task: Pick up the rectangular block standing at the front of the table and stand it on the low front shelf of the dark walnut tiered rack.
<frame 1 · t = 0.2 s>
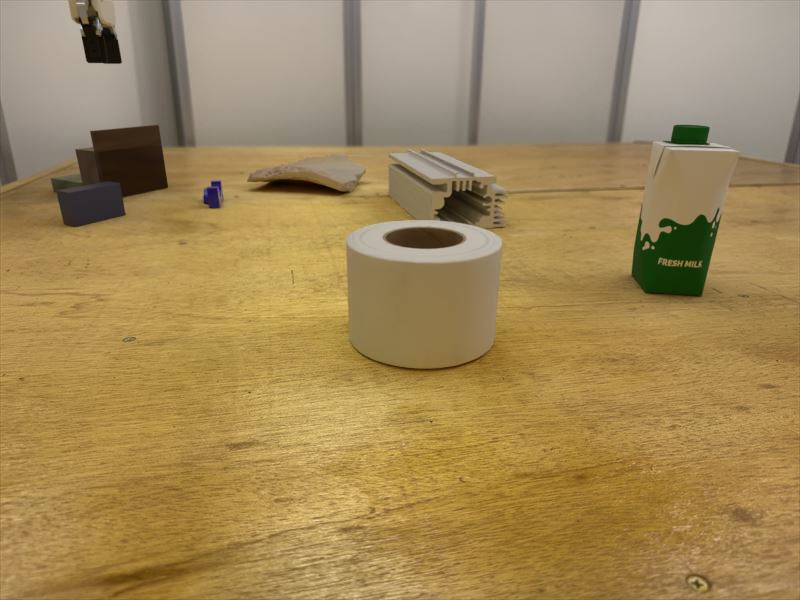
hand: (105, 63, 95), 26 cm above the table, tool pointing down, fingers open, 9 cm apart
milk carton: (664, 286, 73), on the table
aluminum extrusion profile: (440, 210, 111), on the table
rack: (112, 189, 125), on the table
cable holder: (213, 204, 114), on the table
pottery shard: (311, 186, 132), on the table
rectangular block: (95, 219, 101), on the table
tape roll: (421, 335, 59), on the table
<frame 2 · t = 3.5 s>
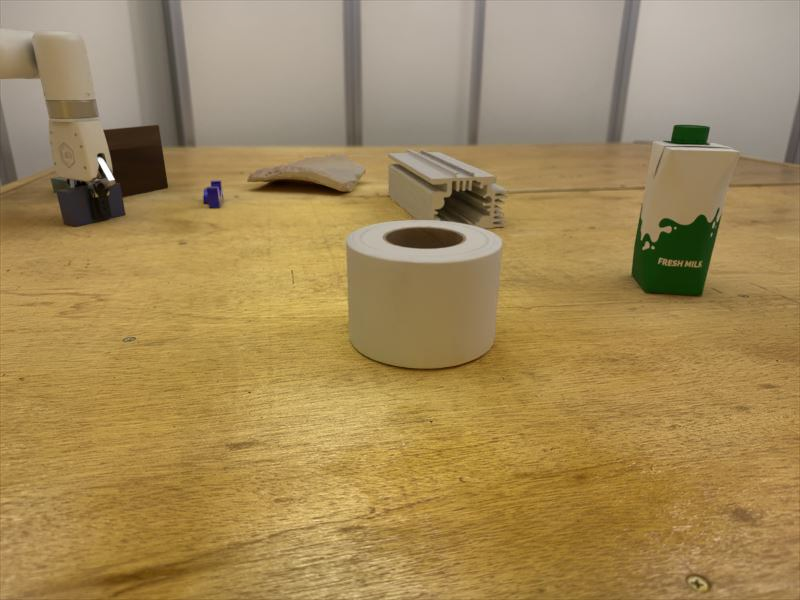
hand: (95, 215, 101), 1 cm above the table, tool pointing down, fingers closed on rectangular block, 3 cm apart
rectangular block: (95, 219, 101), on the table, touching gripper
everything else where it was.
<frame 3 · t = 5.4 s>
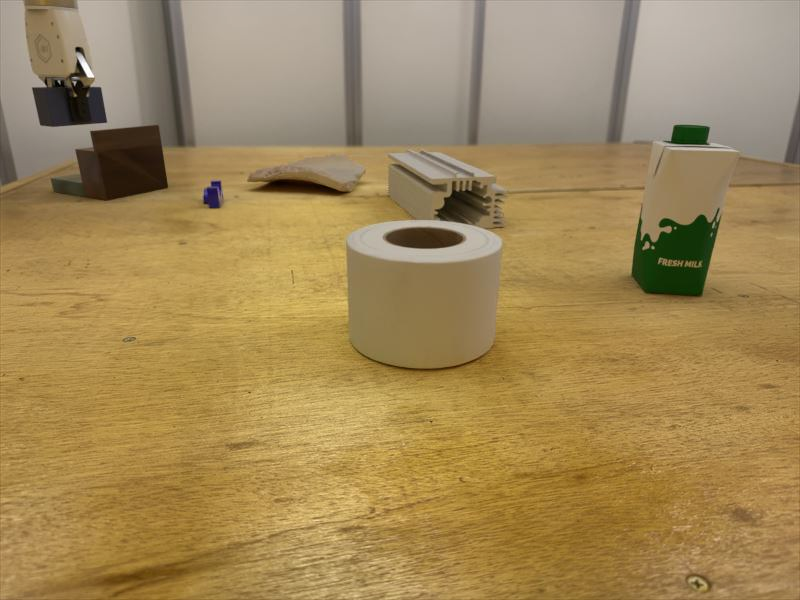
hand: (74, 120, 95), 17 cm above the table, tool pointing down, fingers closed on rectangular block, 3 cm apart
rectangular block: (74, 124, 96), point 17 cm above the table, touching gripper
everything else where it was.
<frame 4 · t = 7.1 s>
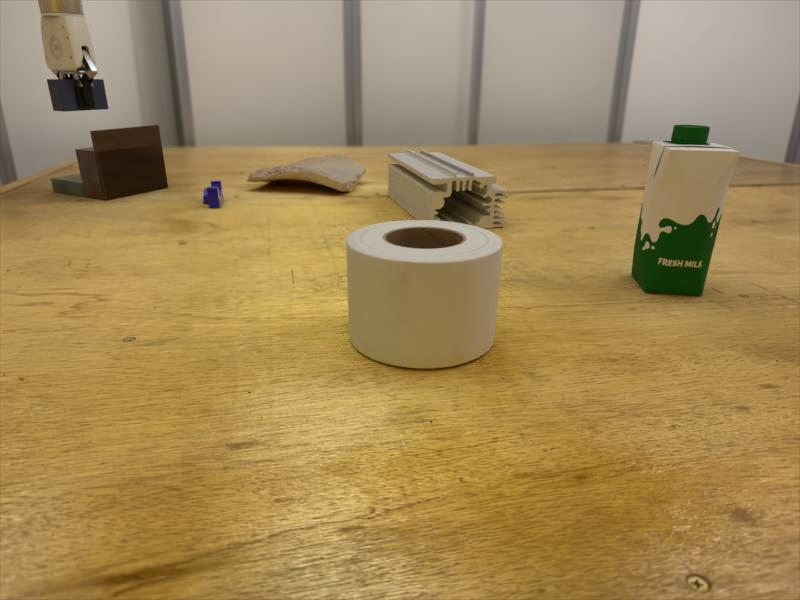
hand: (80, 106, 115), 18 cm above the table, tool pointing down, fingers closed on rectangular block, 3 cm apart
rectangular block: (81, 109, 116), point 17 cm above the table, touching gripper
everything else where it was.
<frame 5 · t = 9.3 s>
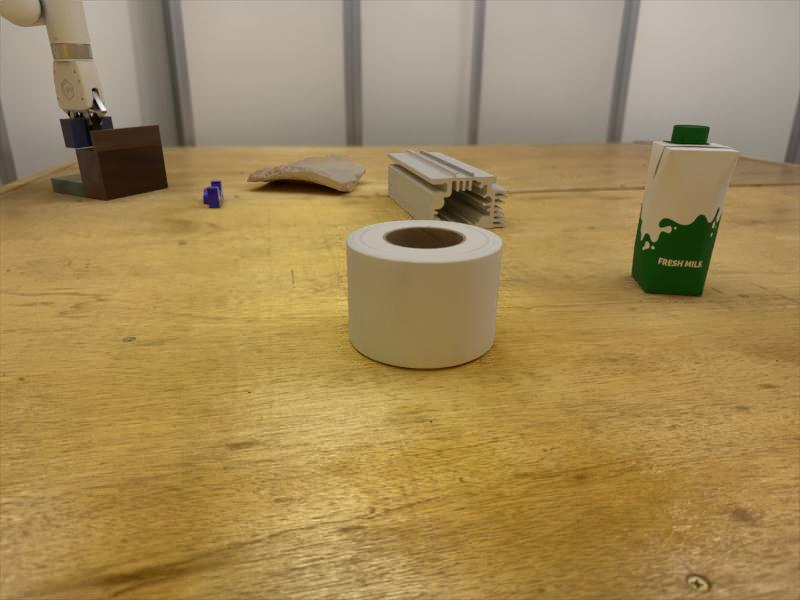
hand: (90, 142, 124), 10 cm above the table, tool pointing down, fingers closed on rectangular block, 3 cm apart
rectangular block: (91, 145, 124), point 9 cm above the table, touching gripper
everything else where it was.
when the fingers open (4 cm above the table, at t = 11.0 s): rectangular block stays where it is, resting on rack.
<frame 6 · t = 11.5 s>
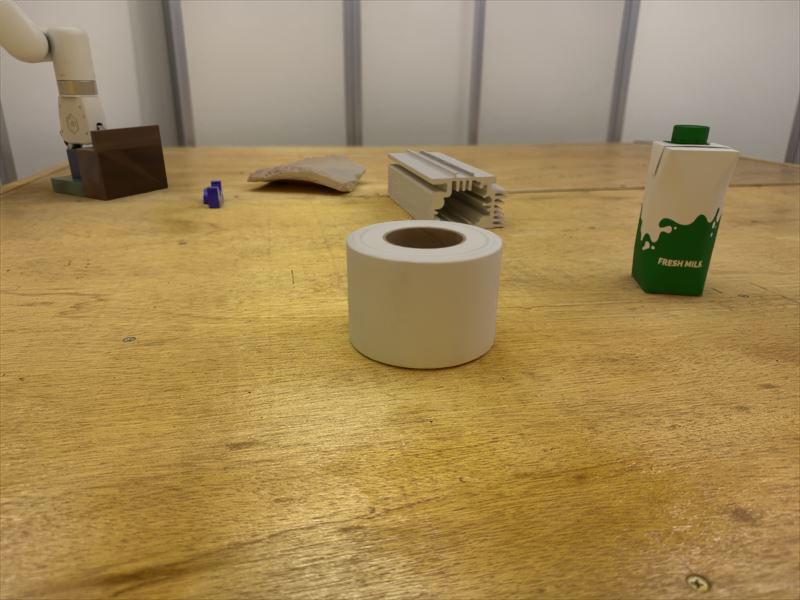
hand: (92, 170, 126), 4 cm above the table, tool pointing down, fingers open, 8 cm apart
rectangular block: (97, 174, 126), point 3 cm above the table, touching rack
everything else where it was.
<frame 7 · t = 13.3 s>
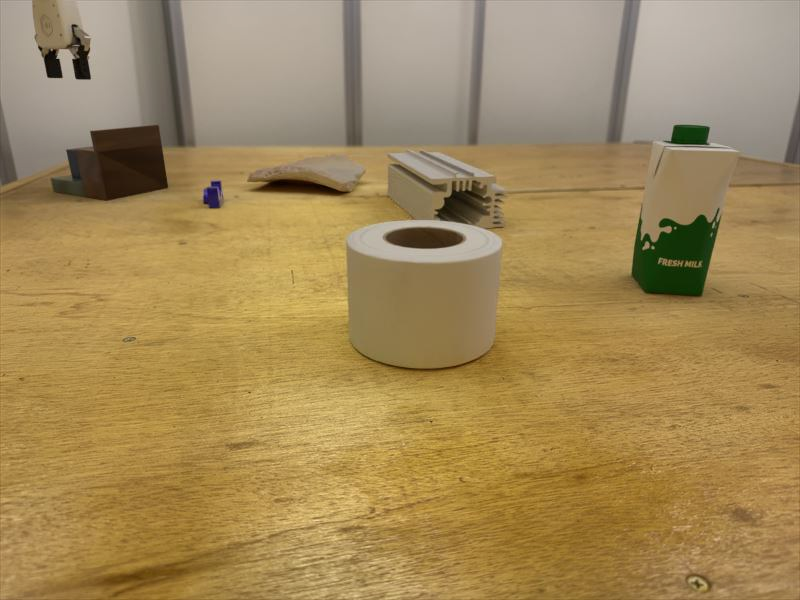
hand: (69, 78, 119), 23 cm above the table, tool pointing down, fingers open, 9 cm apart
nothing on the table moved.
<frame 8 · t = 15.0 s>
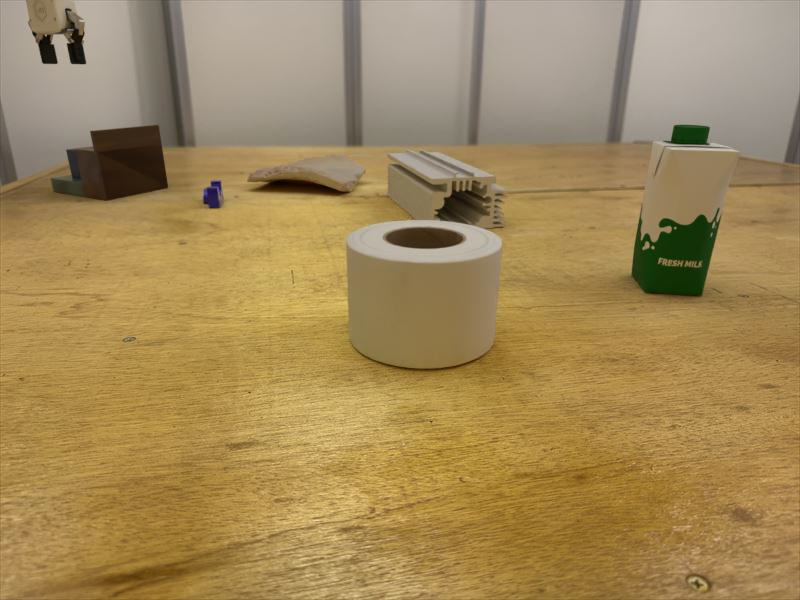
hand: (64, 64, 119), 26 cm above the table, tool pointing down, fingers open, 9 cm apart
nothing on the table moved.
at the end: rectangular block inside the target area on the rack (0.8 cm from its centre), point 3.0 cm above the rack's base; rectangular block tilted 0°; the gripper is holding nothing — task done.
